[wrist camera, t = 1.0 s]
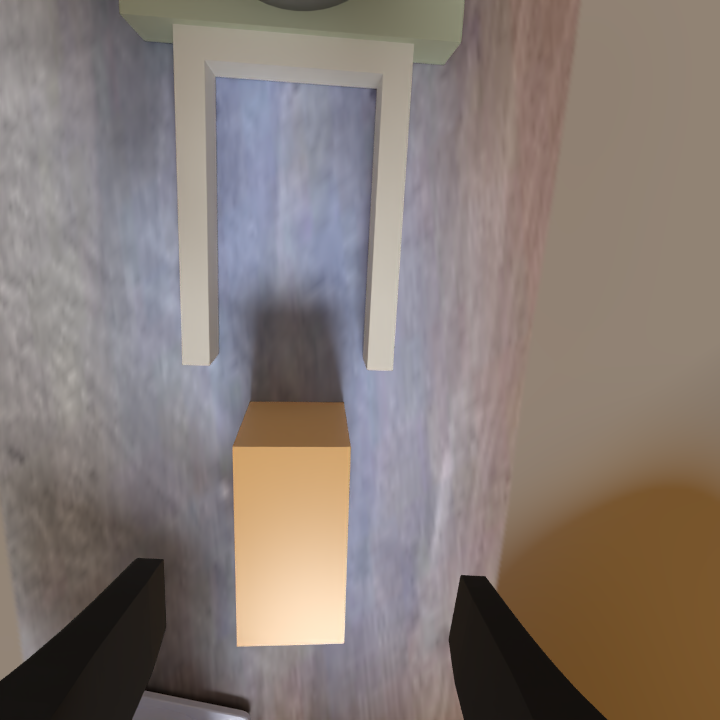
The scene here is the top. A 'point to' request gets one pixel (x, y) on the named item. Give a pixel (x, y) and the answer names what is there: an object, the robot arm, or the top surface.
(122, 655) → the robot arm
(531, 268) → the top surface
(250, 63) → the green base with dome
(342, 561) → the chute block
